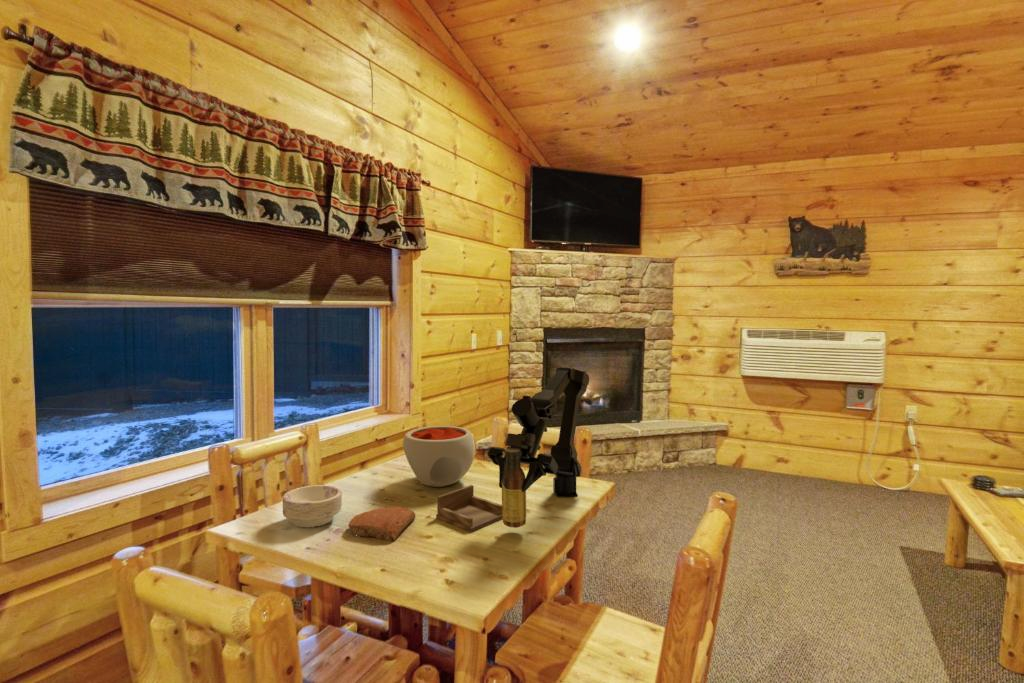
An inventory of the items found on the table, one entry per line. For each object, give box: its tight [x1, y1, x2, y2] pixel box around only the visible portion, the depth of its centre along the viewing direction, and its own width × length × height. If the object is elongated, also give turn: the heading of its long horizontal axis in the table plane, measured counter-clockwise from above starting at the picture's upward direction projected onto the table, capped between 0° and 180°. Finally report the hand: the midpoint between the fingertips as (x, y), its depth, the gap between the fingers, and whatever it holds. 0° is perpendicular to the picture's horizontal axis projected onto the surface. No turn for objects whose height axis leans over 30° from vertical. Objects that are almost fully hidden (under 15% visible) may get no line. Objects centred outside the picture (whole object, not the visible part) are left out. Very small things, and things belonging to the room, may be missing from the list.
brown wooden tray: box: [435, 484, 503, 533], centre depth 150 cm, size 14×14×6 cm
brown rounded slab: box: [348, 506, 416, 542], centre depth 143 cm, size 15×6×15 cm
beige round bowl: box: [282, 484, 343, 528], centre depth 147 cm, size 15×15×8 cm
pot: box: [402, 425, 476, 488], centre depth 179 cm, size 24×24×18 cm
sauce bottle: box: [501, 447, 527, 528], centre depth 139 cm, size 7×6×20 cm
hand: (511, 489), depth 138 cm, fingers closed on sauce bottle, 6 cm apart
